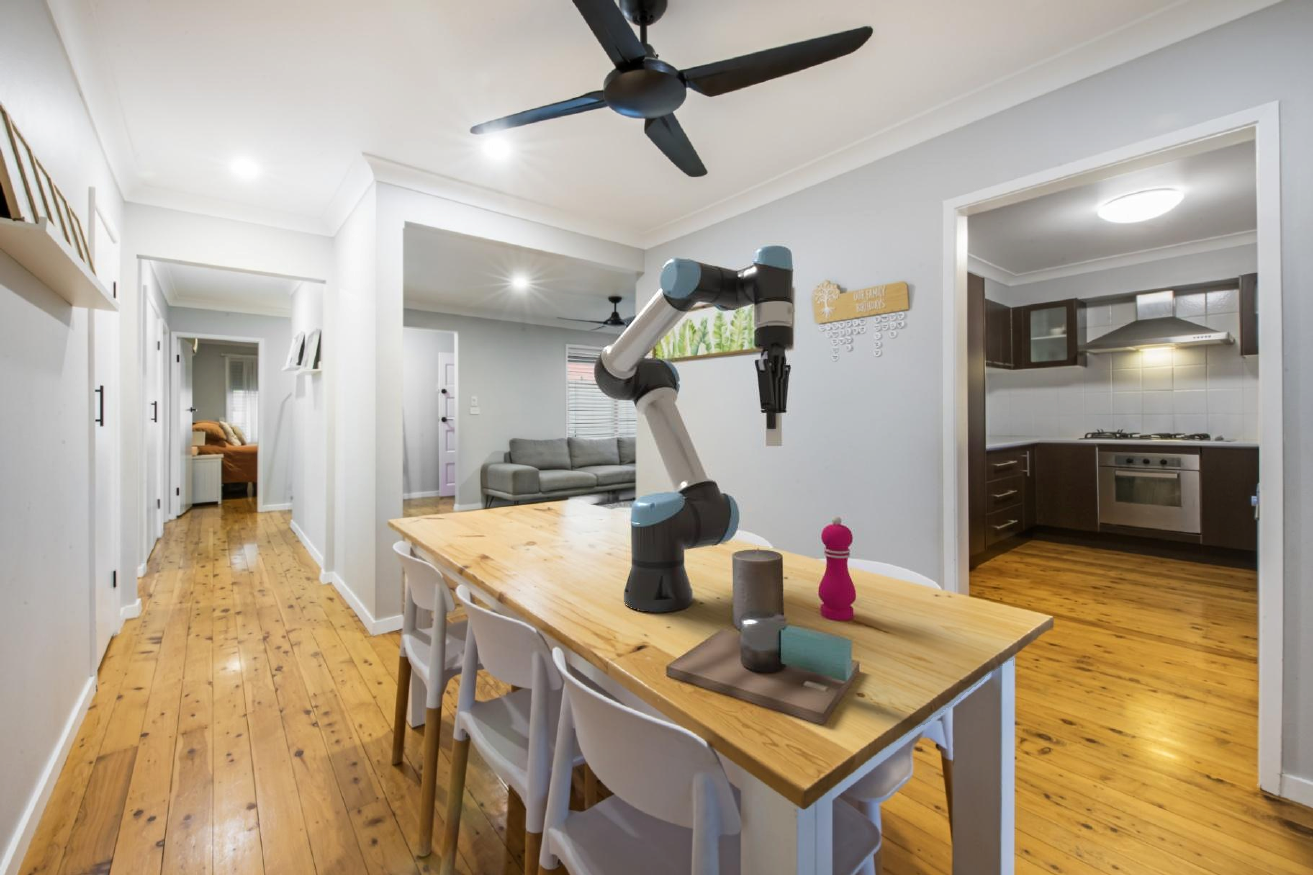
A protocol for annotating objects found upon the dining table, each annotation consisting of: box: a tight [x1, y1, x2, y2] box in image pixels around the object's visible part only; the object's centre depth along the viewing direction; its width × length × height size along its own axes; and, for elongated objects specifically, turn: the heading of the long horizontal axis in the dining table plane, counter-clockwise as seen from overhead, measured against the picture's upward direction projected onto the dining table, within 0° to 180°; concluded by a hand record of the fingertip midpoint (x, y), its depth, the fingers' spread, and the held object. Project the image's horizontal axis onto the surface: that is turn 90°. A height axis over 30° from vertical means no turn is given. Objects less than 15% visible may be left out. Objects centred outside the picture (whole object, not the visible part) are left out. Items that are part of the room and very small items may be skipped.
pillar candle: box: [731, 547, 785, 631], centre depth 101 cm, size 10×10×15 cm
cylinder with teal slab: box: [739, 611, 853, 682], centre depth 78 cm, size 7×16×7 cm, turn 52°
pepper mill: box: [817, 516, 857, 622], centre depth 106 cm, size 7×7×20 cm
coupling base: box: [665, 629, 860, 726], centre depth 81 cm, size 24×18×2 cm
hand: (773, 445), depth 105 cm, fingers closed
